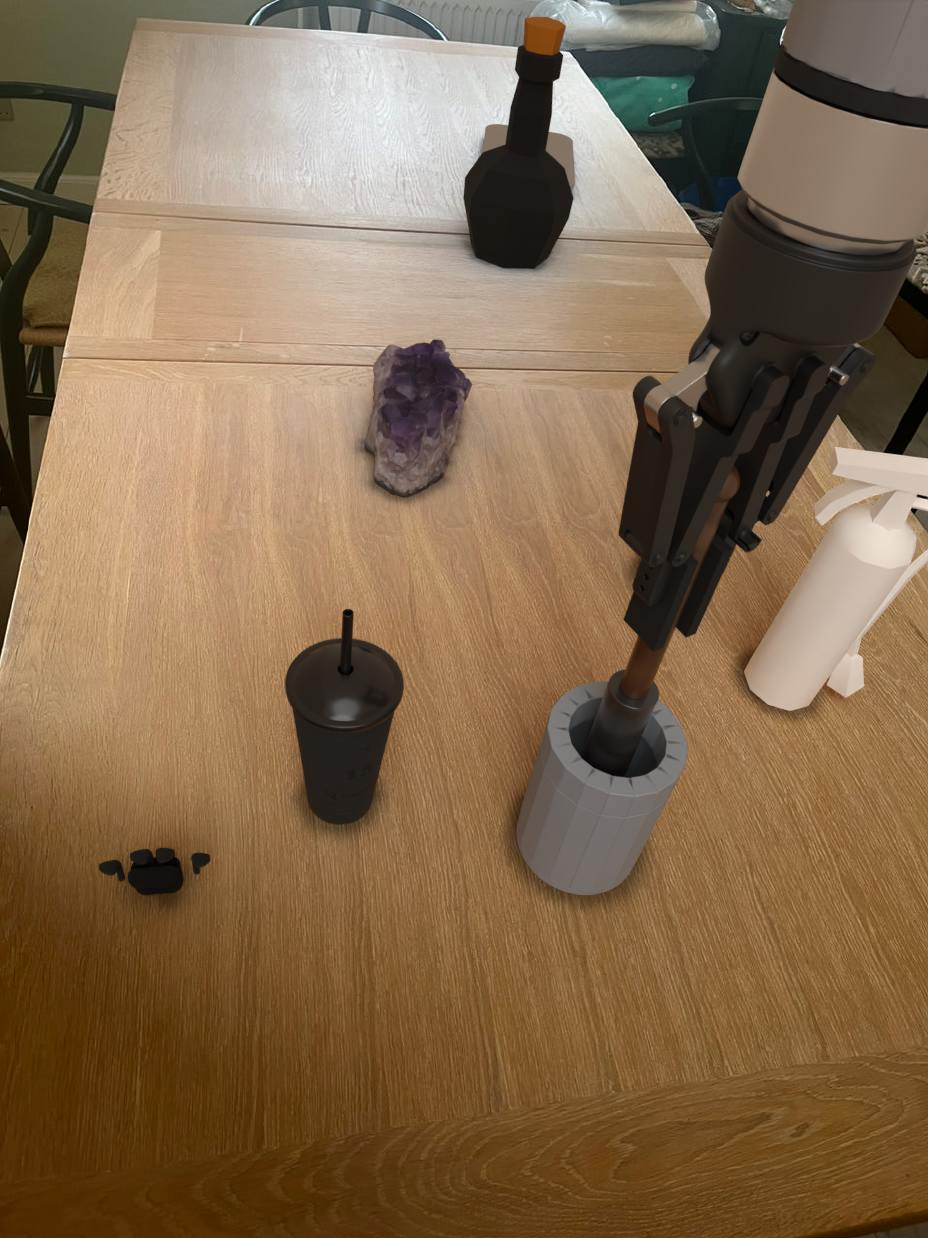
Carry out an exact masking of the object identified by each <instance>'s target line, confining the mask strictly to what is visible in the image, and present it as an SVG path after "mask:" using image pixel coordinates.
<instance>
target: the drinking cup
mask: <svg viewBox="0 0 928 1238" xmlns="http://www.w3.org/2000/svg"><path fill="white" fill-rule="evenodd" d="M341 615H342V617H341V637H337V638H329V639H325V640H321V641H319V642H316V643H314V644H312V645H310V646H308V647H306V648H305V649H303V650H301V652H300V653H299V654H298V655H296V656H295V657H294V658H293V660H292V662H290V665H289V667H288V668H287V670H286V674H285V679H284V680H285V681H284V690H285V691H284V692H285V695H286V699H287V701H288V703H289V705H290V707H291V708H292V713H293V720H294V725H295V733H296V736H297V738H296V739H297V743H298V750H299V756H300V761H301V767H302V773H303V779H304V783H305V785H304V786H305V791H306V797H307V802H308V806H309V809H310V810H311V811H312V813H313V814H314V815H315V816H316V817H317V818H318V819H320V820H321V821H323V822H325V823H328V824H331V825H347V824H351V823H354V822H356V821H358V820H360V819H361V818H362V817H364V816H365V815H366V814H367V812H368V810H370V807H371V806H372V802H373V799H374V795H375V791H376V786H377V782H378V779H379V775H380V771H381V767H382V763H383V759H384V755H385V750H386V747H387V743H388V739H389V734H390V730H391V726H392V724H393V723H392V722H393V719H394V715H395V711H396V710H398V707H399V705H400V704H401V701H402V698H403V695H404V689H405V681H404V675H403V672H402V669H401V668H400V665H399V664H398V662H397V661H396V660H395V659H394V657H393V656H392V655H391V654H390V653H388V652H387V651H386V650H385V649H384V648H382V647H380V646H378V645H376V644H374V643H372V642H369V641H367V640H362V639H358V638H353V635H354V617H355V612H354V610H353V609H352V608H345V609H343V610H342V613H341Z"/></svg>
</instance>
